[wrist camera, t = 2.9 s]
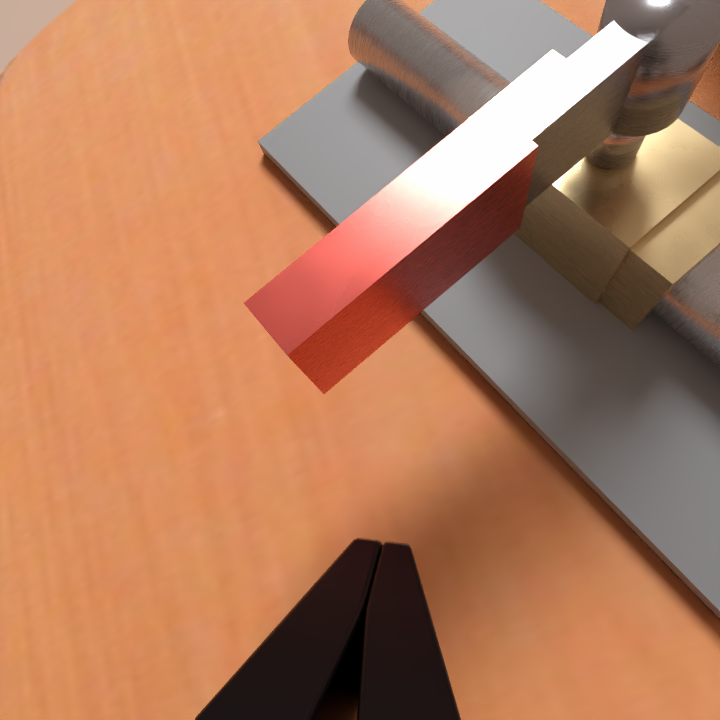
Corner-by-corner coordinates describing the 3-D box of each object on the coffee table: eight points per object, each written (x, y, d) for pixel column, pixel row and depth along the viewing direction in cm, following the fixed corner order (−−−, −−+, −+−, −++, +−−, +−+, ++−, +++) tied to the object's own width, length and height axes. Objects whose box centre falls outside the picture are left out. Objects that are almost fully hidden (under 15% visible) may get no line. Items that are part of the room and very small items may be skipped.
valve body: (924, 419, 18) (1164, 362, 12) (828, 509, 17) (1025, 498, 11) (414, 27, 26) (402, -125, 20) (343, 84, 26) (309, -53, 20)
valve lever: (627, 44, 16) (670, -76, 13) (707, 97, 15) (773, -19, 12) (275, 336, 15) (228, 284, 12) (337, 410, 14) (304, 376, 11)
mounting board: (1016, 343, 19) (1040, 335, 18) (722, 621, 18) (734, 625, 17) (481, -22, 27) (482, -38, 27) (263, 152, 26) (257, 141, 26)
